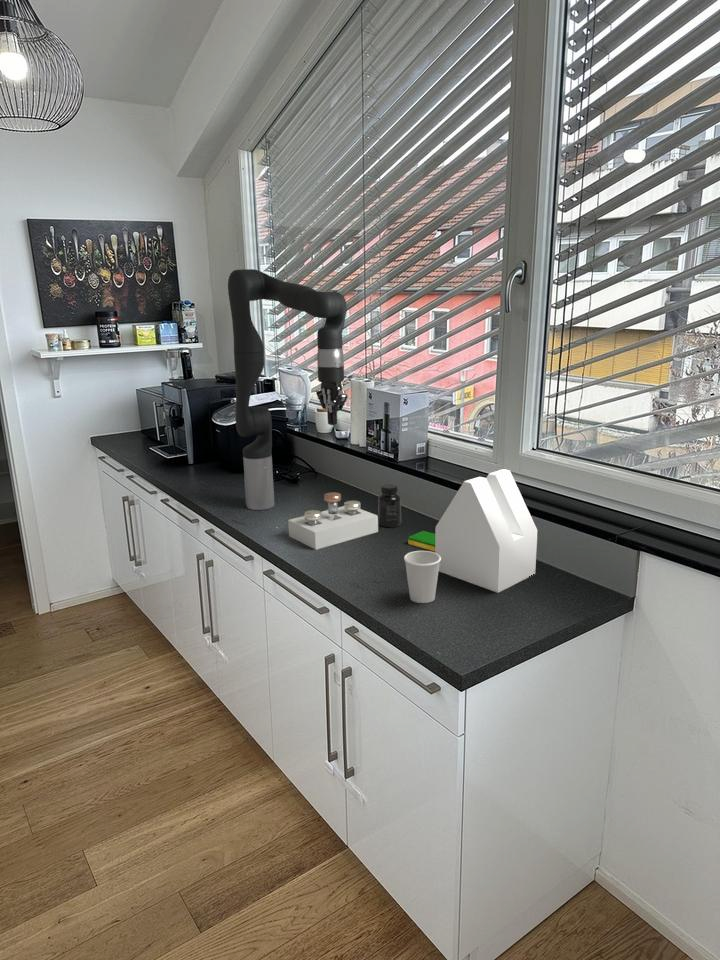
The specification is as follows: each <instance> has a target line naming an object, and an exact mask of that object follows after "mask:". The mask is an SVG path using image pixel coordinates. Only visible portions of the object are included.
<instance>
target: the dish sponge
mask: <svg viewBox="0 0 720 960" xmlns="http://www.w3.org/2000/svg"><path fill="white" fill-rule="evenodd" d="M407 540H408V541H407V542H408V543H407V544H408V545H411V546H414V547H418V548H422V549H425V550H427V551H430V552H435V533H433V532H429V531H425V530H422V531H419V532H417V533H415V534H412V535H409V536H408V539H407Z"/></svg>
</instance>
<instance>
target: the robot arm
mask: <svg viewBox="0 0 720 960" xmlns="http://www.w3.org/2000/svg"><path fill="white" fill-rule="evenodd" d="M227 280H228V281H227V294H228V300H229V306H230V307H229V308H230V314H231V321H232V335H233V358H234V361H233V363H234V373H235V390H236V391H235V427H236V433H237V434H238V435H239V436H240V437H241V438H242V437H243V438H247V437H249V438H250V437H256V436H257V437H256V439H254V440H253V441H252V442H251V443H249V444H247V445H246V446H244V447H243V448H242V460H243V471H244V472H243V473H244V475H243V476H244V478H243V479H244V480H243V481H244V494H245V495H244V496H245V497H244V498H245V505H246V508H247V509H248V510H254V511H262V510H269V509H271V508H273V507H274V506H275V490H274V476H273V475H274V474H273V470H274V469H273V457H272V456H273V455H272V447H273V433H272V432H273V431H272V429H273V423H272V422H273V421H272V414H271V411H270V409H269V408H268V407H267V406H265V405H259V406H250V400H251V399H250V398H251V394H252V391H253V389H254V388H255V385H256V383H257V382H258V381H259V379H260V377H261V375H262V372H263V371H264V367H265V349H264V348H265V346H264V343H263V342H264V341H263V340H262V337H261V336H260V334H259V332H258V330H257V329H256V327H255V324H254V323H253V320H252V315H251V308H250V306H251V305H250V303H251V302H255V301H260V300H270V301H271V300H272V301H276V302H277V303H280V304H281V305H283V306H284V307H287V308H289V309H292V310H296V311H299V312H300V311H301V312H304V313H306V314H308V315H310V316H311V317H315V318H319V319H325V323H324V325H323V326H322V327H320V328H318V330H317V335H316V337H317V338H316V339H317V340H316V341H317V353H316V354H317V355H316V356H317V357H316V360H317V362H316V364H317V366H316V367H317V381H318V382H319V383H321V384H320V389H319V390H316V396H317V399H318V400H319V403H320V405H321V408H322V409H324V410H325V411H326V413H327V424H328V425H329V426H335V425H337V423H338V412H339V411H342V410H343V407H344V405H345V404H346V401H347V399H348V394H347V393H346V394H345V393H344V392H343V386H342V382H343V381H345V359H344V358H345V357H344V351H343V331H344V327H345V321H346V317H347V310H348V309H347V308H348V306H347V301H346V298H345V296H344V295H343V294H342V293H341V292H339V291H318V290H316V289H314V288H312V287H310V286H306V285H302V284H298V283H293V282H288V281H284V280H280V279H277V278H275V277H273V276H271V275H269V274H267V273H265V272H263V271H261V270H258V269H253V268H251V269H250V268H249V269H234V270H233V271H231V273H229V277H228V279H227Z"/></svg>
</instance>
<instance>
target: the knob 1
mask: <svg viewBox="0 0 720 960" xmlns="http://www.w3.org/2000/svg"><path fill="white" fill-rule="evenodd" d="M321 512H322V511H320V510H317V509H316V510H315V509H310V510H305V512H304V515H303V516H304V518H305V519H306V520H308V525H309V526H314V525H318V520H319V519H321Z"/></svg>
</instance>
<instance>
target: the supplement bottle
mask: <svg viewBox="0 0 720 960" xmlns="http://www.w3.org/2000/svg"><path fill="white" fill-rule="evenodd" d="M380 492H381V494H379V496H378V499H377V501H378V502H377V505H378V506H377V507H378V525H379V526H380V527H383V528H396V527H399V526H401V524H402V499H401V498H402V497H401V495H400V494H399V493H398V492H399V491H398V485H396V484H392V483H391V484H390V483H389V484H383V485H381V487H380Z"/></svg>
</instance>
